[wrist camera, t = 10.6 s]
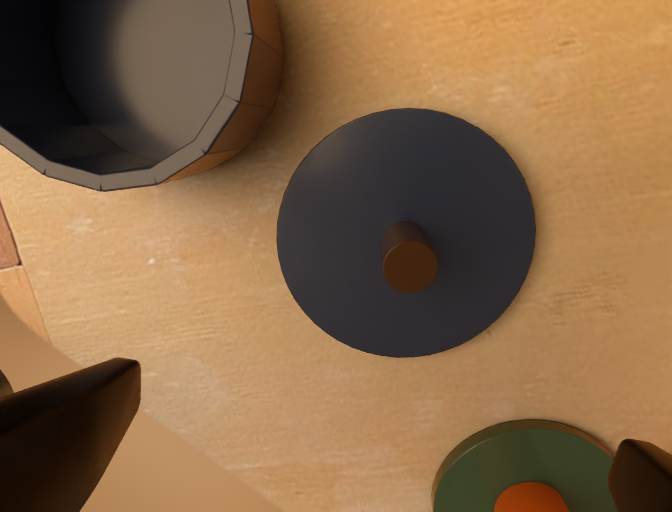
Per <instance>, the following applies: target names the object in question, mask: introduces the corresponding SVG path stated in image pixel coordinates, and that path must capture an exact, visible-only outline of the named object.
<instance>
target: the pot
mask: <svg viewBox="0 0 672 512" xmlns="http://www.w3.org/2000/svg"><path fill="white" fill-rule="evenodd" d="M283 55H284V49H283V37H282V30H281V25H280V20H279V16H278V12H277V9H276V4H275V0H0V144H1V145H2V146H4V147H5V148H6V149H8V150H9V151H11V152H12V153H13V154H15V155H16V156H18V157H19V158H20V159H22V160H23V161H25V162H26V163H27V164H29V165H30V166H31V167H33V168H34V169H36V170H37V171H38V172H40V173H41V174H43V175H45V176H47V177H50V178H54V179H57V180H61V181H65V182H68V183H72V184H75V185H79V186H82V187H86V188H90V189H93V190H97V191H103V192H107V191H115V190H123V189H131V188H139V187H147V186H155V185H159V184H163V183H166V182H170V181H173V180H177V179H180V178H183V177H187V176H190V175H194V174H197V173H201V172H204V171H208V170H210V169H212V168H213V167H215V166H217V165H218V164H220V163H222V162H224V161H226V160H228V159H230V158H231V157H233V156H234V155H236V154H237V153H238V152H240V151H241V150H243V149H244V148H245V147H246V146H247V145H248V144H249V143H250V142H251V141H252V140H253V139H254V137H255V136H256V135H257V134H258V132H259V131H260V130H261V129H262V127H263V125H264V124H265V122H266V120H267V119H268V117H269V115H270V113H271V111H272V108H273V106H274V104H275V101H276V99H277V95H278V91H279V88H280V84H281V78H282V72H283Z"/></svg>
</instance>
